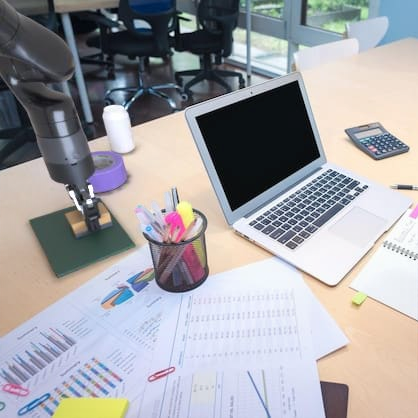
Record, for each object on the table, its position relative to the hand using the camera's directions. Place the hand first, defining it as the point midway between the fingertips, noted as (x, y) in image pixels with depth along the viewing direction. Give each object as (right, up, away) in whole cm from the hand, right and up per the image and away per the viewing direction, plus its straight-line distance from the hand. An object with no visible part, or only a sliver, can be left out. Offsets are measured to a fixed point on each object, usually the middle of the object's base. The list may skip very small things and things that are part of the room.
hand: (91, 224), depth 81 cm
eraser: (0, 0, 0) cm, 0 cm away
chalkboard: (-1, -2, -1) cm, 2 cm away
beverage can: (-7, +20, +28) cm, 35 cm away
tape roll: (-6, +10, +15) cm, 19 cm away
